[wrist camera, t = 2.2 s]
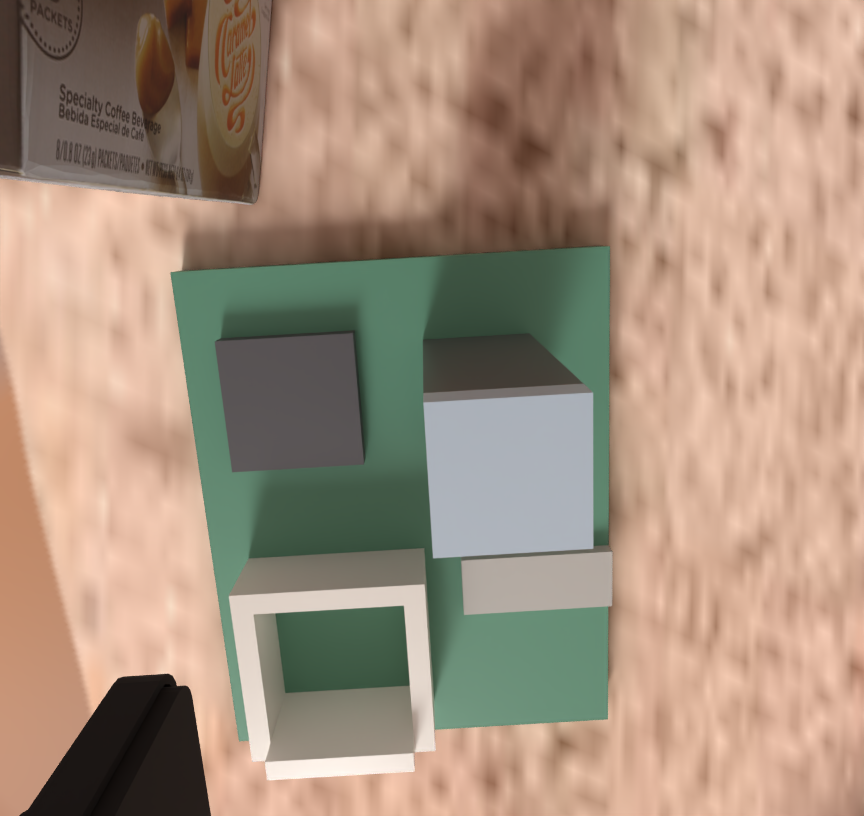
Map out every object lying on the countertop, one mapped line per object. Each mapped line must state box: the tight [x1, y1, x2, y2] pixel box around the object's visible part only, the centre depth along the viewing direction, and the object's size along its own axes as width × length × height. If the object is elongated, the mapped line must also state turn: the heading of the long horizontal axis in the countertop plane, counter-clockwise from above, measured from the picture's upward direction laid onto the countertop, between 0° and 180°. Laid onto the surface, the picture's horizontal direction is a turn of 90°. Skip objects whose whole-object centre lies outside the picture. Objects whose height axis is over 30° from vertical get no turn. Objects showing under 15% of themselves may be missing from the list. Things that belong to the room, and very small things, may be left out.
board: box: [170, 246, 612, 741], centre depth 28 cm, size 20×16×2 cm
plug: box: [423, 333, 593, 558], centre depth 22 cm, size 4×4×10 cm
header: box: [229, 548, 436, 780], centre depth 27 cm, size 7×7×4 cm
